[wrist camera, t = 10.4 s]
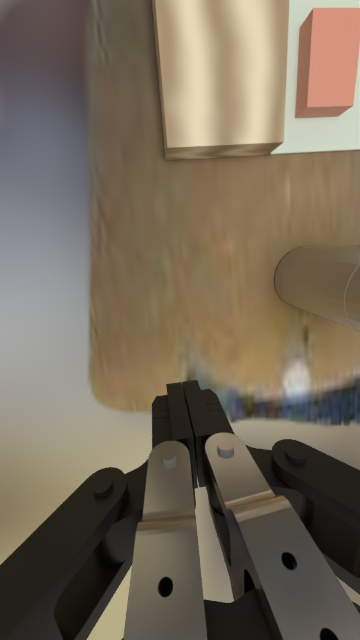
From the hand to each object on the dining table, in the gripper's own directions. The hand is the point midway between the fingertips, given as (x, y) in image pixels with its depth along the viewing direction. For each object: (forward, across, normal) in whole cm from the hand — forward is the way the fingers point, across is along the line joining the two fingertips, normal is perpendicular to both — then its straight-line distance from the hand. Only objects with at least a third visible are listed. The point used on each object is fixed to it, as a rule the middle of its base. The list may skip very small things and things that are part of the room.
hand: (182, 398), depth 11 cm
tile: (+24, -23, -26) cm, 42 cm away
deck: (+26, -10, -26) cm, 38 cm away
